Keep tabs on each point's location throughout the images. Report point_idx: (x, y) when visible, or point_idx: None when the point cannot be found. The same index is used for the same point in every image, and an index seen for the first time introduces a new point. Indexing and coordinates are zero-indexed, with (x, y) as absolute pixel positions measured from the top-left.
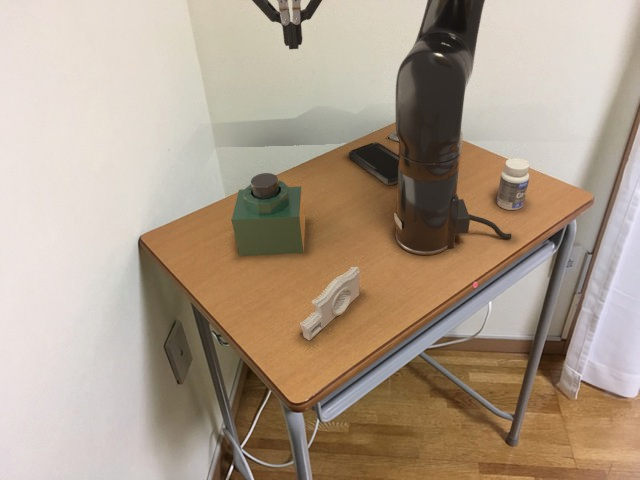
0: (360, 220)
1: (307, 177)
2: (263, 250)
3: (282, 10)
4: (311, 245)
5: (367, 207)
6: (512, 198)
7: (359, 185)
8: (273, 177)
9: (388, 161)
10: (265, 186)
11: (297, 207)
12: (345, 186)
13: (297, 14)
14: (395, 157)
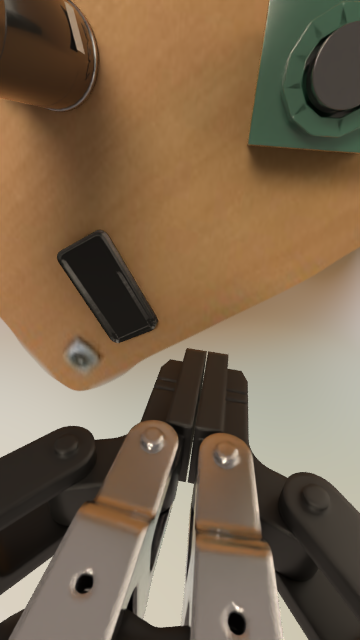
0: (153, 134)
1: (226, 282)
2: None
3: (237, 532)
4: (245, 60)
5: (139, 173)
6: None
7: (147, 241)
8: (323, 77)
9: (98, 287)
10: (354, 23)
11: (268, 44)
12: (169, 243)
13: (130, 472)
14: (88, 296)
